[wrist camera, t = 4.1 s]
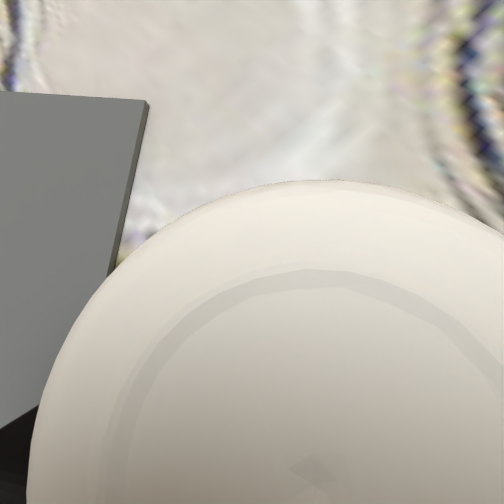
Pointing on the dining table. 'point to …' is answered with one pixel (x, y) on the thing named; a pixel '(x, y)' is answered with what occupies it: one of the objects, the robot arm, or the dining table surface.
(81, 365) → the sprinkles bottle
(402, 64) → the dining table surface
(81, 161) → the mat
